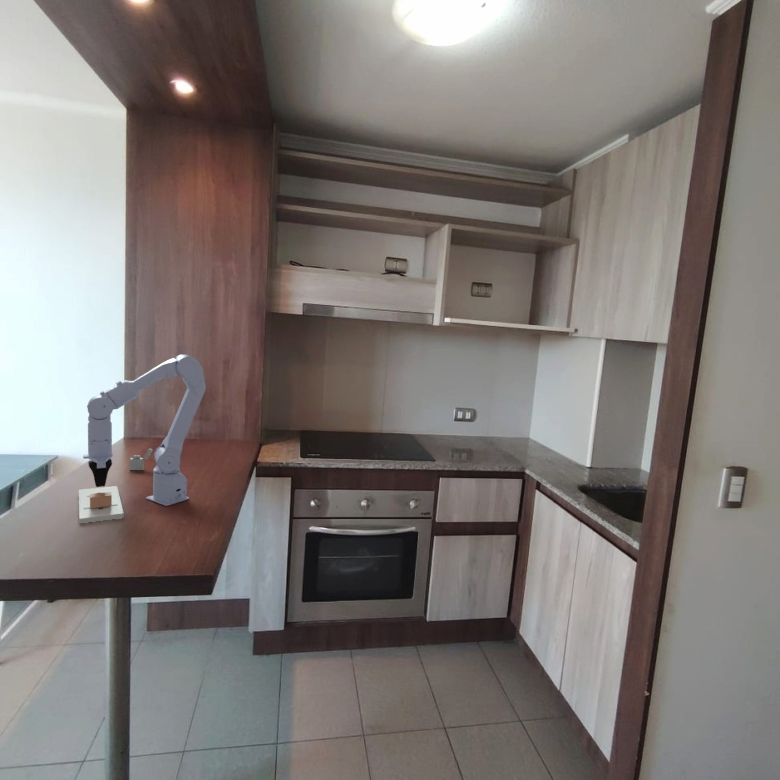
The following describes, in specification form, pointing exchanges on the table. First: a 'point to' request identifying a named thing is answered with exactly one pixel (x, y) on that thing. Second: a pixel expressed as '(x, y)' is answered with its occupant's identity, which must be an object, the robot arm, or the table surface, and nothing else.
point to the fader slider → (100, 500)
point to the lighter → (139, 461)
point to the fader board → (100, 512)
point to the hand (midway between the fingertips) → (100, 485)
